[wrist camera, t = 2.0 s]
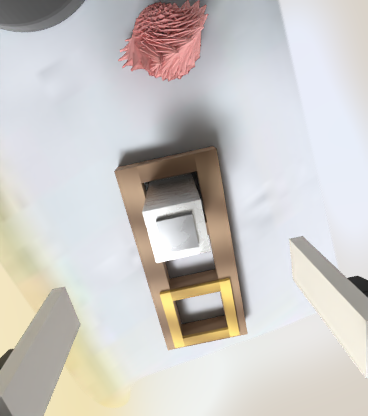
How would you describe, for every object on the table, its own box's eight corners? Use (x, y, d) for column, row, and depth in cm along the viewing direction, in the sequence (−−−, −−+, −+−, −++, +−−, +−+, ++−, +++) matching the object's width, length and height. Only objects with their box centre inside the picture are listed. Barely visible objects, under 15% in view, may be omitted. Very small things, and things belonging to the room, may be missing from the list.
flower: (220, 89, 22) (192, 18, 17) (134, 115, 25) (91, 60, 21) (225, 29, 25) (202, -43, 21) (149, 58, 29) (115, 1, 24)
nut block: (149, 182, 30) (141, 214, 21) (191, 172, 30) (201, 201, 21) (159, 220, 31) (156, 265, 23) (199, 212, 31) (211, 253, 23)
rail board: (117, 167, 29) (113, 172, 27) (213, 146, 29) (217, 149, 27) (168, 337, 37) (168, 352, 35) (243, 322, 37) (248, 336, 35)
